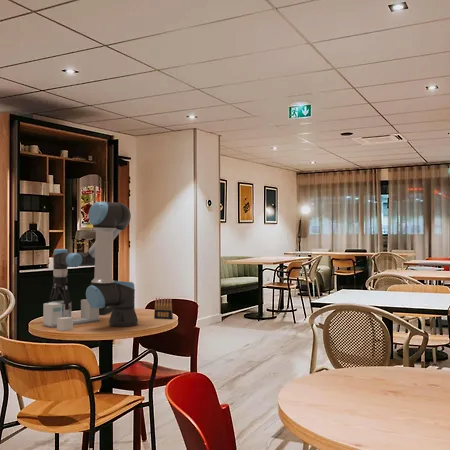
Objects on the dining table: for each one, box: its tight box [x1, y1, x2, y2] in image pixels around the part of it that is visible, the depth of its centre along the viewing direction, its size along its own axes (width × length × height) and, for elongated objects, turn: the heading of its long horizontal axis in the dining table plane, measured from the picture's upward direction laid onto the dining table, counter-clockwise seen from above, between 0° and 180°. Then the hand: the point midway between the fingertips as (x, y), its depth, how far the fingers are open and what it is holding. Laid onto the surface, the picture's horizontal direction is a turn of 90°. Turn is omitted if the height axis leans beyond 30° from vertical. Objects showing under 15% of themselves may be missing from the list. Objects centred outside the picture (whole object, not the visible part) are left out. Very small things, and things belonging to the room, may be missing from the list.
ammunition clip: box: [153, 297, 174, 320], centre depth 293 cm, size 11×2×12 cm, turn 74°
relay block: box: [56, 316, 74, 332], centre depth 259 cm, size 5×6×6 cm
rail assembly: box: [42, 298, 100, 329], centre depth 278 cm, size 10×28×12 cm, turn 135°
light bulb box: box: [48, 300, 72, 317], centre depth 288 cm, size 11×7×11 cm, turn 143°
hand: (60, 314), depth 288 cm, fingers open, 13 cm apart
